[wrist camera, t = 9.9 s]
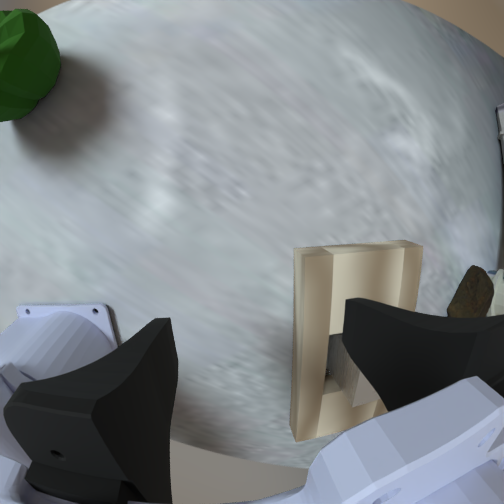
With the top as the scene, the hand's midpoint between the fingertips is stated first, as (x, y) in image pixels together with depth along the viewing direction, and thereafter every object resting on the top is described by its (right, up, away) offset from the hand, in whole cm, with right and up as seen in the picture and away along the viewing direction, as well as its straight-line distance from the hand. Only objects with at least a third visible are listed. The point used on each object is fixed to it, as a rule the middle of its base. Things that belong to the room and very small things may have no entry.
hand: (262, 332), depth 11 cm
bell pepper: (-18, +17, +3) cm, 25 cm away
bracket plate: (+8, -5, +12) cm, 15 cm away
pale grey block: (+8, -5, +12) cm, 15 cm away
